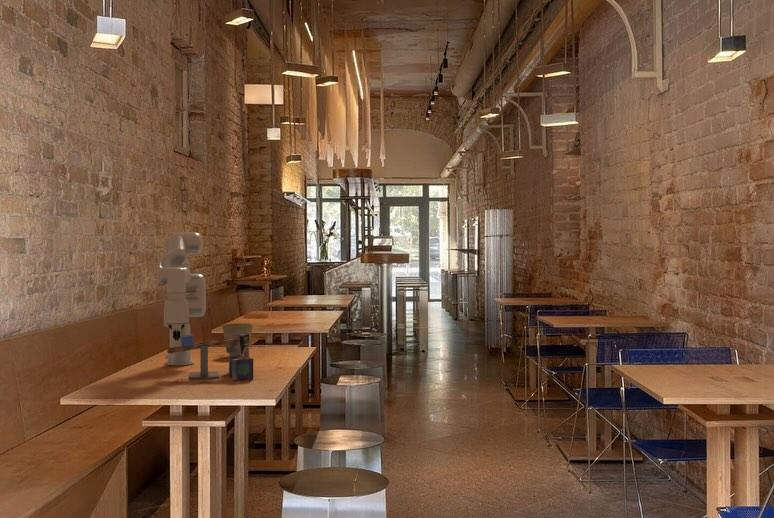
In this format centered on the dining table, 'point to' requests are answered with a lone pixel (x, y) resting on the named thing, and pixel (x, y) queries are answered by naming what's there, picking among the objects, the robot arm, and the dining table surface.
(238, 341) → the beam
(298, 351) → the dining table surface
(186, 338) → the blue block
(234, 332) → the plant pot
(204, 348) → the stand
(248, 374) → the flask
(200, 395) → the dining table surface
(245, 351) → the coffee box
